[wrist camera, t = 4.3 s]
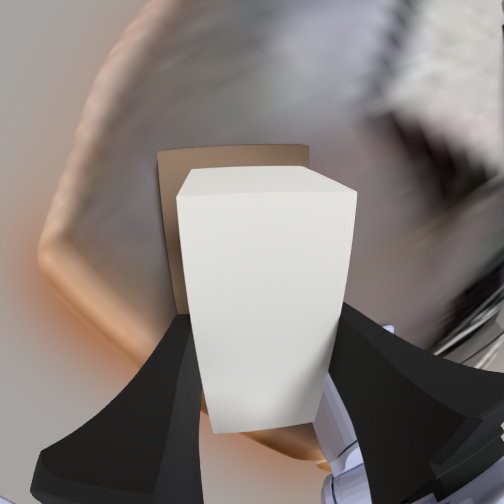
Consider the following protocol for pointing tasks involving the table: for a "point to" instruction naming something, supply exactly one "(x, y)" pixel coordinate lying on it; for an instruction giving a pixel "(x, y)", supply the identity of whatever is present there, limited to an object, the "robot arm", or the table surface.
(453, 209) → the table surface
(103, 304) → the table surface
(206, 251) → the white rectangular block
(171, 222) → the peg board
